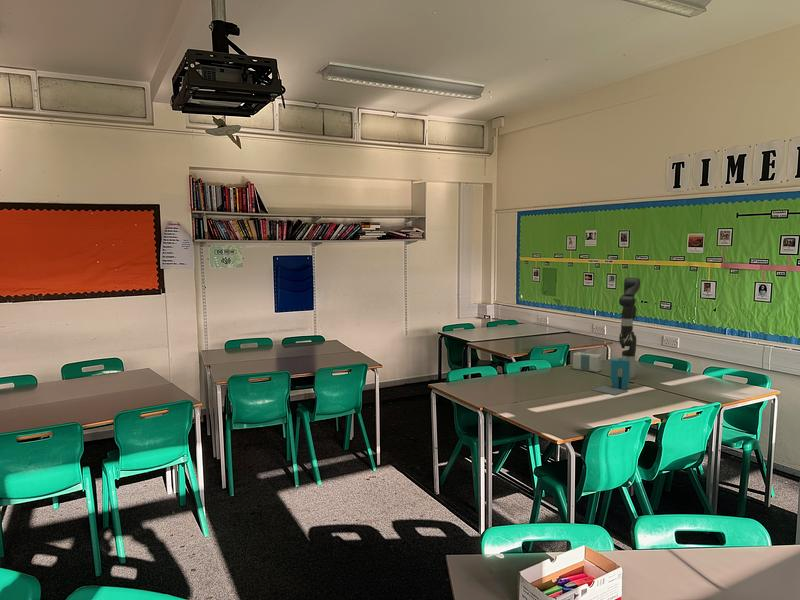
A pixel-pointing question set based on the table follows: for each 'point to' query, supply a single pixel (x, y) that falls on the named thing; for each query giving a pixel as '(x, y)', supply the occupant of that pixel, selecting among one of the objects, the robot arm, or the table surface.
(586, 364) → the stereo radio cassette player
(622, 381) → the block
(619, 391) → the mat
